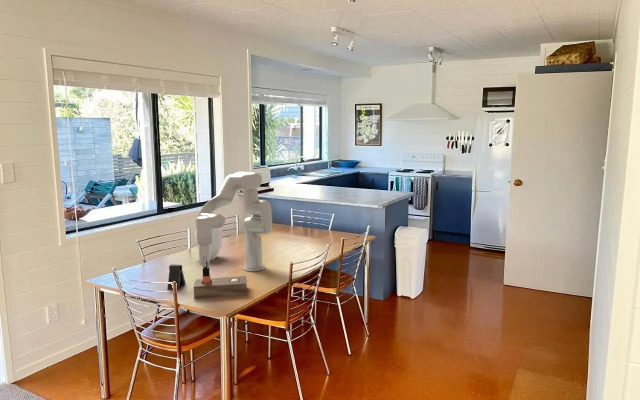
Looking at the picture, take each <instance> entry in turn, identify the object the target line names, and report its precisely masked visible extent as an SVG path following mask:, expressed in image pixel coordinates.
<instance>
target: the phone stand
mask: <svg viewBox="0 0 640 400" xmlns="http://www.w3.org/2000/svg"><path fill="white" fill-rule="evenodd" d="M184 275H185V274H184V271H183V265H182V264H169V266H168V282H173V281H176V283H177V289H176V290H180V289H181V288H182V287H184V286H185V285H186V280H185V276H184ZM167 290H173V289H172V285H171V284H168V283H167Z"/></svg>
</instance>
